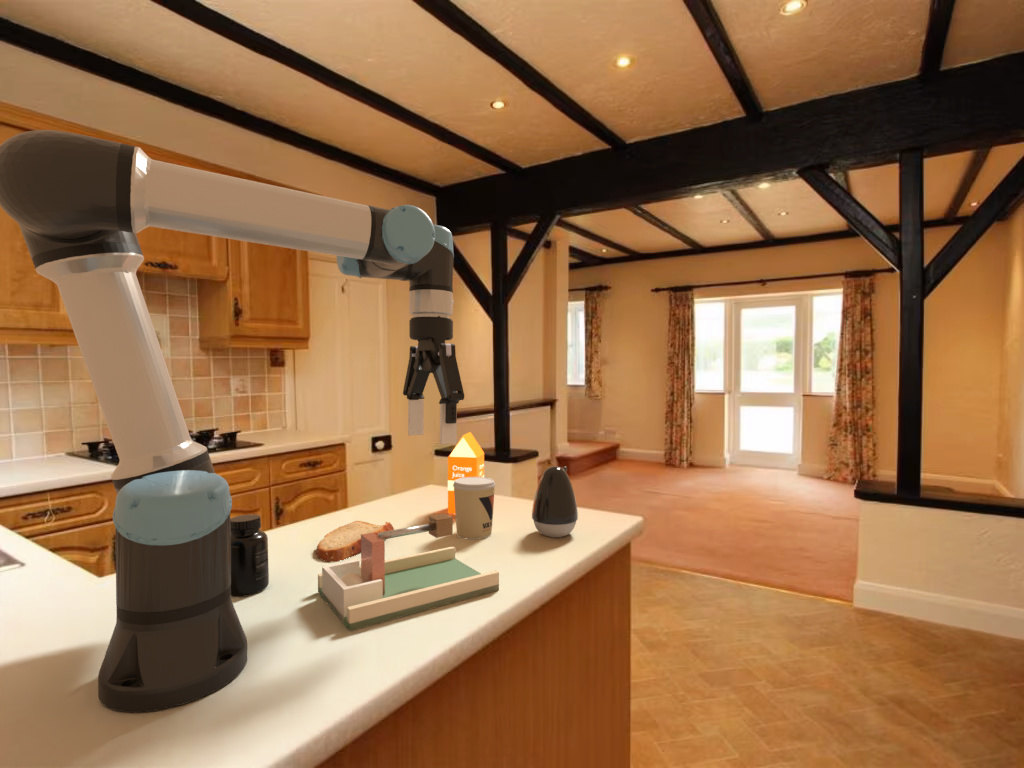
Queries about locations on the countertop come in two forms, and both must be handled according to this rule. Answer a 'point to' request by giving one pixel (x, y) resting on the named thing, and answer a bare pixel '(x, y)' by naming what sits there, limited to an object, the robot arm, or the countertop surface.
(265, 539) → the supplement bottle
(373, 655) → the countertop surface
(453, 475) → the orange juice
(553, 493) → the dark grey egg shape
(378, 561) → the rod
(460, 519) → the coffee cup
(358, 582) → the ball
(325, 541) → the slice of bread
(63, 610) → the countertop surface
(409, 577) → the pitch
